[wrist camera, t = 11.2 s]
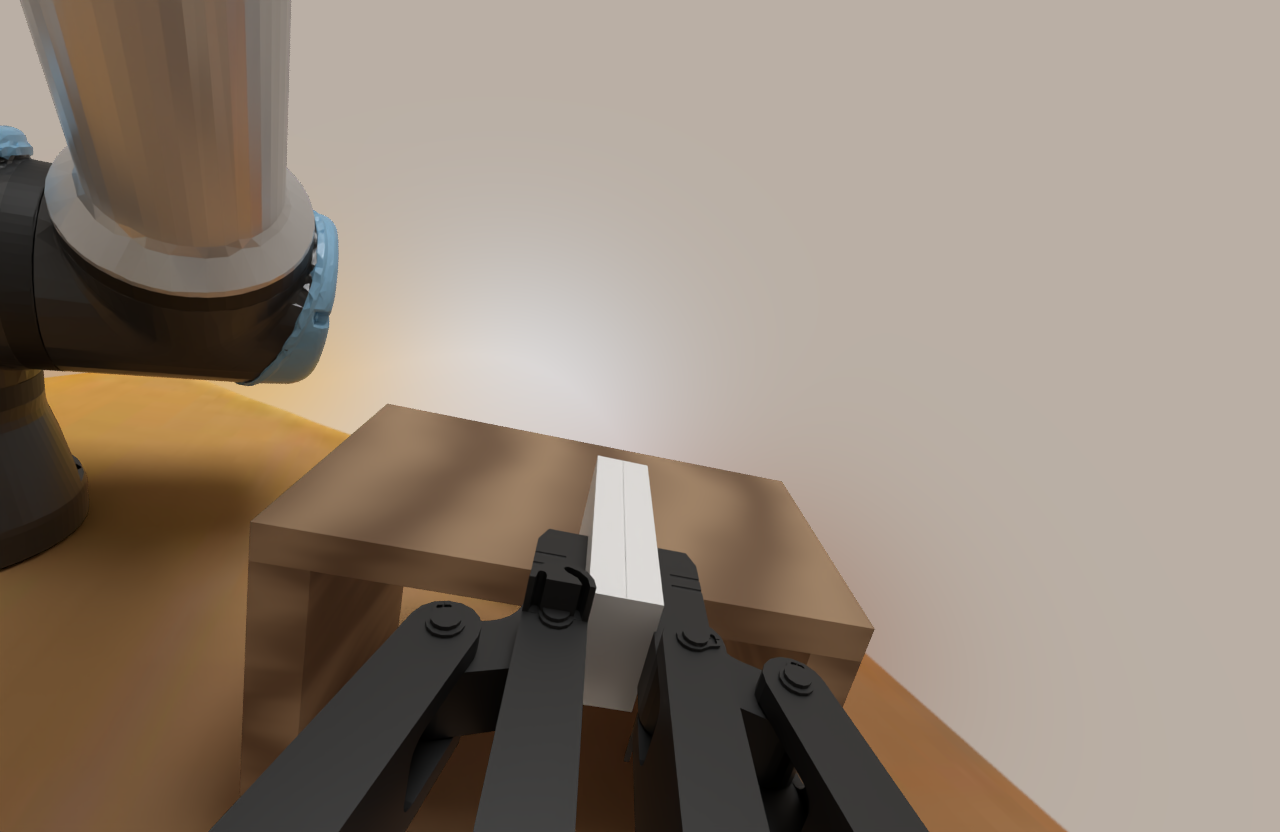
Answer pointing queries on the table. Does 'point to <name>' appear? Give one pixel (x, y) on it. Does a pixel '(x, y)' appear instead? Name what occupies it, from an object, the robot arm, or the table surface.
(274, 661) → the tunnel
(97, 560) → the table surface
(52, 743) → the table surface
